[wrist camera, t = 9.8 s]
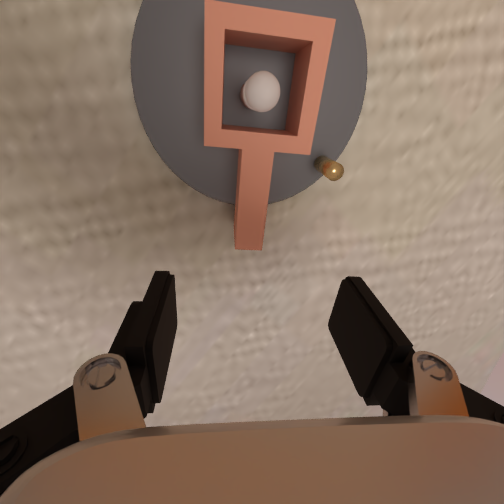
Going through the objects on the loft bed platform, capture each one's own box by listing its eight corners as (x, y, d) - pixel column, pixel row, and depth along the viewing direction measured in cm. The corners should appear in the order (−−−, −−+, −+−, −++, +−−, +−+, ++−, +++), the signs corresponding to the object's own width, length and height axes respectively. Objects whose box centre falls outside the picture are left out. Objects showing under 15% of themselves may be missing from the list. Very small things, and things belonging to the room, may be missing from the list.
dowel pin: (315, 154, 20) (329, 162, 18) (330, 156, 21) (345, 163, 18) (312, 170, 21) (325, 180, 18) (327, 171, 21) (341, 181, 19)
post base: (117, -96, 14) (29, -256, 8) (395, -44, 16) (504, -138, 10) (147, 196, 22) (115, 234, 16) (331, 207, 24) (369, 245, 17)
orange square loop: (209, 21, 16) (204, -1, 13) (313, 36, 17) (336, 18, 13) (206, 225, 23) (203, 248, 19) (281, 229, 23) (291, 251, 20)
